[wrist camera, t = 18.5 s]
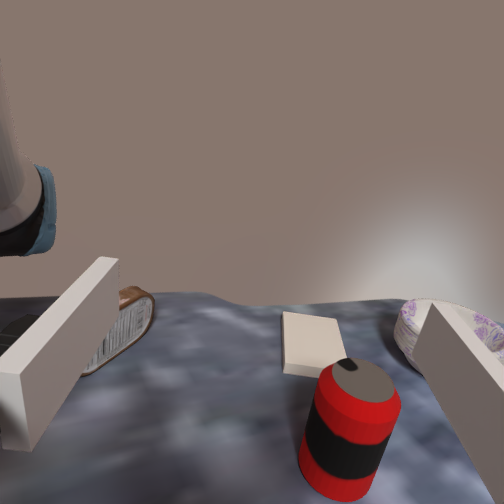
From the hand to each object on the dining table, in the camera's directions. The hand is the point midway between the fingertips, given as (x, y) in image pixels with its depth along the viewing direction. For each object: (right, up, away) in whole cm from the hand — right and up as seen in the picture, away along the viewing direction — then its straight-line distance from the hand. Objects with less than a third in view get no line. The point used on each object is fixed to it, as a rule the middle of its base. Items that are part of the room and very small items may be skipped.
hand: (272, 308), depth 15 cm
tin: (-20, -12, +34) cm, 41 cm away
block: (+8, -14, +35) cm, 38 cm away
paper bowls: (+28, -15, +41) cm, 52 cm away
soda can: (+8, -20, +23) cm, 32 cm away
